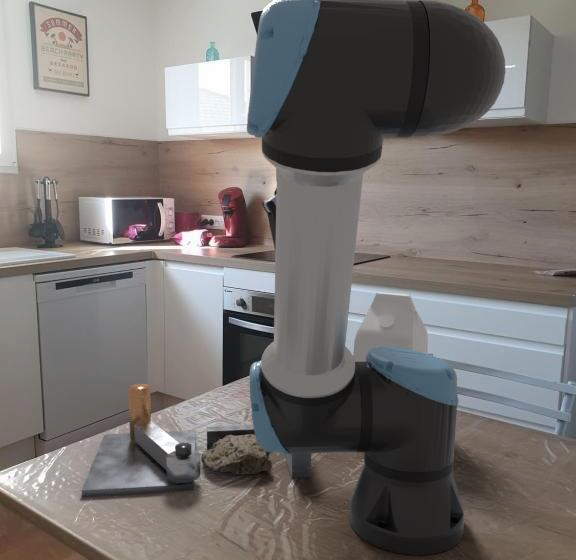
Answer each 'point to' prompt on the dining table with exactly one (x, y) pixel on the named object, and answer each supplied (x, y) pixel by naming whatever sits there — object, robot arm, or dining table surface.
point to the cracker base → (148, 472)
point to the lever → (158, 438)
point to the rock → (237, 455)
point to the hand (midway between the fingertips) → (296, 294)
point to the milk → (390, 326)
